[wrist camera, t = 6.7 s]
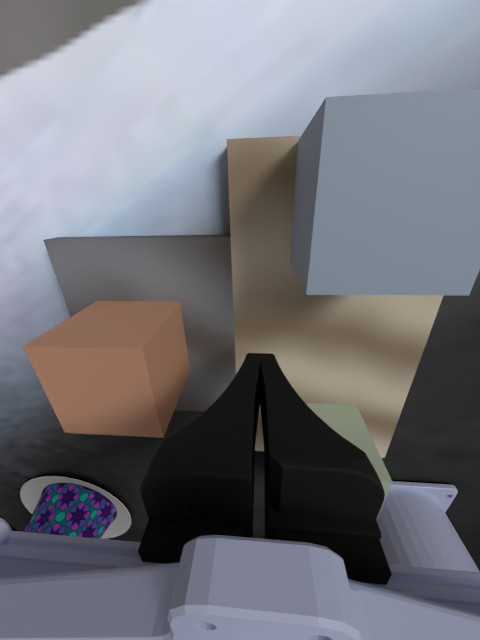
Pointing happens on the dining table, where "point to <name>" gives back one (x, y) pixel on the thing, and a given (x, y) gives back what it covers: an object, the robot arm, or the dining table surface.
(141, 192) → the dining table surface
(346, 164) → the blue block
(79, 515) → the patterned fedora hat
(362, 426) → the sage block
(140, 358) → the terracotta block
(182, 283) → the board
